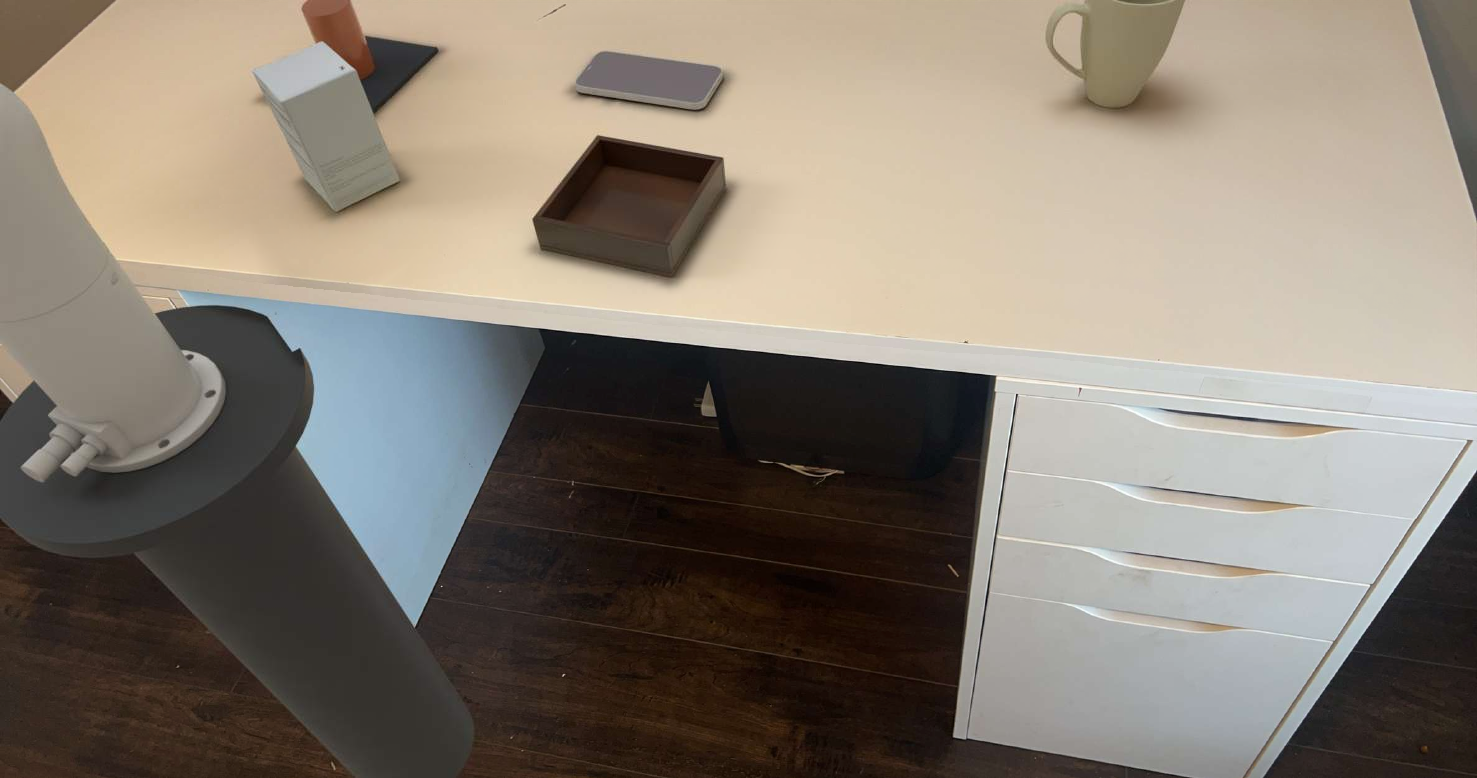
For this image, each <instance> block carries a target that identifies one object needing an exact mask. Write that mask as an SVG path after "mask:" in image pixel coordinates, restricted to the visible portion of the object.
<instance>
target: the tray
mask: <svg viewBox="0 0 1477 778" xmlns="http://www.w3.org/2000/svg"><path fill="white" fill-rule="evenodd" d="M726 189H727V181H726V169H725V159H724V157H723V156H718V155H711V154H706V153H700V152H695V151H691V150H690V151H689V150H683V149H677V148H673V147H666V146H661V145H655V144H649V143H644V142H639V141H634V140H633V141H632V140H628V139H623V138H622V139H621V138H616V137H610V136H604V135H599V134H597V135H596V136H595V137H594V139H592V141H591V143H590V144H589V145H588V146H587V148H586V149H585V151H583V153H582V154H581V155H580V157H579V158H578V159H577V160H576V162H575V163H574V164H573V166H572V167H571V168H570V170H569V171H568V172H567V173H566V175H565V176H564V177H563V178H562V179H561V181H560V182H559V184H558V185H557V187H556V188H555V189H554V190H553V191H552V193H551V194H550V195H549V197H548V198H547V199H546V200H545V202H544V203H543V204H542V205H541V207H540V208H539V209H538V211H537V212H536V213H535V215H534V216H533V217H532V218H531V219H532V224H533V227H534V231H535V235H536V238H537V241H538V245H539V249H540V250H545V251H548V252H553V253H557V254H563V255H567V256H571V257H576V258H581V259H586V260H589V261H594V262H600V263H604V264H608V265H612V266H618V267H622V268H626V269H627V268H628V269H631V270H635V271H640V272H645V273H649V274H654V275H659V276H664V277H667V278H673V276H674V275H675V274H676V271H677V270H678V268H679V266H680V265H681V263H682V262H683V260H684V258H685V256H686V254H687V253H688V251H689V250H690V248H691V247H692V245H693V244H694V242H695V240H696V238H697V237H698V235H699V234H700V232H701V231H702V228H703V227H704V225H705V223H706V222H707V220H708V219H709V217H710V215H711V214H712V212H713V210H714V208H716V205H717V204H718V202H719V201H720V199H721V197H722V196H723V194H724V193H725V190H726Z"/></svg>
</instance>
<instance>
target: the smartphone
mask: <svg viewBox="0 0 1477 778" xmlns="http://www.w3.org/2000/svg"><path fill="white" fill-rule="evenodd" d="M723 73H724V72H723V69H722V67H720V66H718V65H711V64H703V63H698V62H691V61H685V60H675V59H670V58H669V59H668V58H662V57H655V56H649V55H640V54H632V53H625V52H618V51H611V50H602V51H598V52H596V53H595V54H594V55H593V57H592V58H591V59H590V61H589V62H588V63H587V64H586V66H585V67H584V68H583V69H582V71H580V73H579V75H578V76H577V77H576V79H575V80H574V85H575V90H576V91H577V92H579V93H580V94H581V93H582V94H588V95H594V96H600V97H608V98H612V99H613V98H615V99H621V100H627V101H633V102H639V103H646V104H654V105H660V106H666V107H673V108H681V109H687V110H693V111H695V110H696V111H698V110H701V109H704V108H705V107H706V106H707V105H708V103H709V102H710V100H711V99H712V98H713V97H712V96H713V95H714V94H715V93H716V90H717V88H718V87H719V85H720V83H721V82H722V81H723V78H724V75H723Z"/></svg>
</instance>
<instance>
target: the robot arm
mask: <svg viewBox="0 0 1477 778" xmlns="http://www.w3.org/2000/svg"><path fill="white" fill-rule="evenodd" d="M155 313H156V312H155V311H154V310H153V309H152V308H151V306H150V305H149V303H148V301H146V299H145V298H144V296H143V295H142V293H141V292H140V291H139V289H138V288H137V286H136V285H135V283H134V282H133V281H132V279H131V278H130V277H129V275H128V273H126V270H124V269H123V267H122V266H121V264H120V263H119V261H118V260H117V259H116V257H115V255H114V254H113V253H112V252H111V250H110V249H109V247H108V246H107V245H106V243H105V242H104V241H103V239H102V238H101V237H100V235H99V234H98V232H97V231H96V230H95V227H94V226H93V225H92V224H91V223H90V221H89V220H88V218H87V216H86V215H85V213H83V210H81V208H80V206H79V204H78V203H77V202H76V199H75V198H74V196H73V194H72V193H71V192H70V190H69V188H68V186H67V184H66V182H65V180H64V179H63V177H62V175H61V172H60V170H59V168H58V166H57V163H56V162H55V159H54V156H53V154H52V152H51V150H50V147H49V144H48V142H47V140H46V137H45V135H44V133H43V130H42V128H41V125H40V124H39V123H38V120H37V118H36V117H35V115H34V113H33V112H32V110H31V109H30V107H29V106H28V105H27V104H26V103H25V101H23V99H21V98H20V96H19V95H17V93H15V92H14V91H12V90H11V89H10V88H8V87H7V86H5V85H4V84H2V83H1V82H0V345H1V346H3V348H4V349H5V350H6V352H8V354H10V356H11V357H12V358H13V359H14V360H15V361H16V362H17V363H18V364H19V366H20V367H21V368H22V369H23V370H24V372H26V373H27V374H28V375H29V377H30V378H31V379H32V381H35V382H36V383H37V384H38V385H39V386H40V388H41V389H42V390H43V391H44V392H45V393H46V394H47V395H48V396H49V397H50V399H51V400H52V401H53V402H54V403H55V404H56V405H57V407H56V408H54V409H53V410H52V411H51V412H50V413H49V414H48V416H49V417H50V418H51V419H52V421H53V422H54V423H55V424H56V425H57V426H56V428H54V429H53V430H52V431H51V432H50V433H49V435H50V437H51V438H52V439H51V440H50V441H49V442H48V443H47V444H46V445H45V446H44V447H42V448H41V449H39V450H38V451H37V452H36V453H35V454H34V455H32V456H31V457H30V458H29V459H28V460H27V461H26V462H25V463H24V464H23V465H22V466H21V469H22V471H24V472H25V473H26V474H27V475H28V476H30V477H31V478H33V479H35V480H37V481H39V482H45V481H46V480H47V479H48V478H49V477H50V476H51V475H52V474H53V473H54V472H55V471H56V470H57V469H58V468H59V467H61V468H62V469H63V470H64V471H65V472H67V473H68V474H70V475H72V476H75V477H77V476H78V475H79V473H80V472H81V471H82V470H83V469H84V468H85V467H88V468H90V469H93V470H97V471H101V472H112V473H117V472H128V471H134V470H138V469H142V468H146V467H149V466H152V465H155V464H157V463H160V462H163V461H165V460H166V459H168V458H170V457H172V456H174V455H176V454H178V453H179V452H181V451H183V450H184V449H186V448H187V447H189V446H190V445H191V444H192V443H194V442H195V441H196V440H197V439H198V438H200V437H201V436H202V435H203V434H204V433H205V432H206V430H207V429H208V428H209V427H210V426H211V425H212V424H213V422H214V421H215V419H216V418H217V416H218V415H219V413H220V411H221V408H222V406H223V404H224V400H225V395H226V385H225V380H224V378H223V376H222V373H221V372H220V371H219V369H218V368H217V366H216V365H215V364H214V363H213V362H212V361H211V360H210V359H209V358H207V357H205V356H203V355H201V354H199V353H195V352H191V351H187V350H180V348H179V347H178V345H177V344H176V343H175V341H174V340H173V338H172V337H171V336H170V334H169V333H168V331H167V330H166V329H165V327H164V326H163V324H162V323H161V322H160V320H159V319H158V317H157V316H156V315H155ZM70 454H71V455H70ZM69 455H70V456H69ZM68 456H69V457H68ZM67 457H68V458H67ZM66 458H67V459H66ZM65 459H66V460H65ZM64 460H65V461H64ZM63 461H64V462H63ZM62 462H63V464H62V465H61V463H62Z"/></svg>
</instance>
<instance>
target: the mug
mask: <svg viewBox="0 0 1477 778" xmlns="http://www.w3.org/2000/svg"><path fill="white" fill-rule="evenodd" d="M1185 2H1186V0H1084V3H1083V4H1081V3H1076V2H1066V3H1063V4H1060V5H1058V6H1057V7H1056V8H1055V9H1054V10H1053V11H1052V13H1051V14H1050V16H1049V18H1048V21H1047V24H1046V28H1045V43H1046V48H1047V49H1048V51H1049V53H1050V54H1051V56H1052V57H1053V58H1054V59H1055V61H1056V62H1058V63H1059V64H1060V65H1061V66H1062V67H1063V68H1064V69H1065V70H1067V71H1068V72H1070V73H1071V74H1073V75H1074V76H1075V77H1077V78H1080V79H1083V83H1084V91H1085V96H1086V97H1087V99H1088V100H1089V101H1090V102H1091V103H1093V104H1095V105H1097V106H1100V107H1103V108H1110V109H1118V108H1125V107H1127V106H1129V105H1132V103H1134V101H1135V100H1136V98H1137V97H1138V95H1139V93H1140V92H1141V91H1142V89H1143V88H1144V86H1145V85H1146V84H1147V82H1148V80H1149V79H1150V78H1151V76H1153V75H1152V74H1153V73H1154V72H1155V70H1156V68H1157V67H1158V66H1159V64H1160V62H1161V61H1162V59H1163V58H1164V55H1165V53H1166V51H1167V50H1168V47H1169V45H1170V43H1171V39H1172V37H1173V35H1174V32H1175V30H1176V27H1177V24H1178V21H1179V19H1180V16H1181V13H1182V10H1183V8H1184V5H1185ZM1068 14H1076V15H1079V16H1080V17H1081V18H1082V19H1081V27H1080V37H1079V38H1080V39H1079V42H1080V43H1079V46H1080V47H1079V49H1080V60H1081V62H1080V63H1081V68H1076V67H1075V66H1073V65H1072V64H1071V63H1070V62H1068V61H1067V60H1066V59H1065V58H1064V57H1063V56H1062V55H1061V54H1059V52H1058V51H1057V50H1056V48H1055V46H1054V36H1055V32H1056V28H1057V26H1058V25H1059V23H1060V21H1061V20H1062V19H1063V17H1065V16H1066V15H1068Z"/></svg>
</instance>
